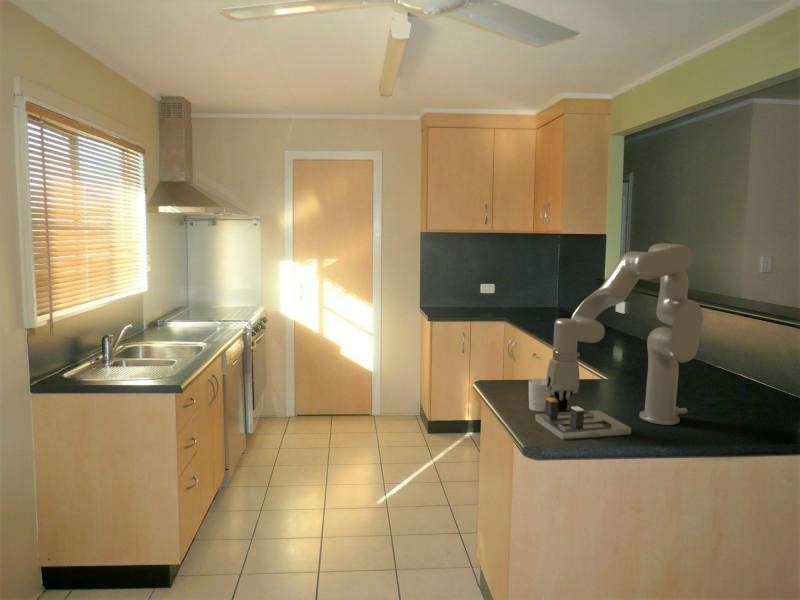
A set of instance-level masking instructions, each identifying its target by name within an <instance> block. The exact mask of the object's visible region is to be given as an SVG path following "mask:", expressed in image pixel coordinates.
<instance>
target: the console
mask: <svg viewBox="0 0 800 600" xmlns="http://www.w3.org/2000/svg"><path fill="white" fill-rule="evenodd" d="M570 415H571V411H569V412H568V411H566V412H558V413H557V419H551V417H550V416H548V415H547V414H545V412H543V413H542V412H541V413H540V414H539V413H538V414H537V413H536V414H535V415H534V416H535V417H534V418H535V419H534V421H536V422H538V424H540V425H541V426H543V427H544V428H546V429H547V430H548V431H550V432H551V433H553V434H554V435H556V436H557V437H558V438H559V439H561V440H575V439H584V438H585V439H586V438H598V437H599V438H600V437H609V436H611V437H613V436H623V435H624V436H625V435H632V428H631V427H630V426H629V425H627V424H624V423H623V422H621V421H620V420H617V419H615V418H614V417H612V416H610V415H608V414H606V413H604V412H603V411H601V410H588V409H587V410H584V422H583V428H580V429H575V428H574V427H572V426H571V425H570Z"/></svg>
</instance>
